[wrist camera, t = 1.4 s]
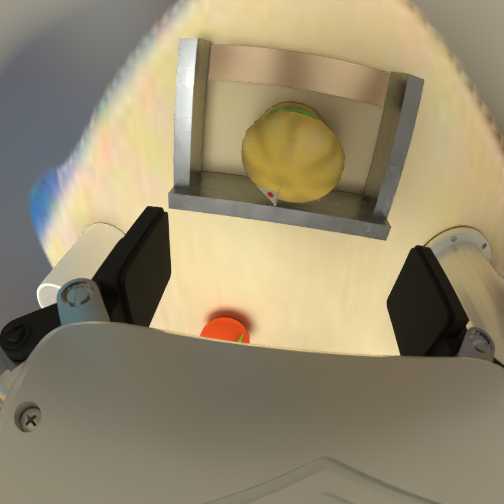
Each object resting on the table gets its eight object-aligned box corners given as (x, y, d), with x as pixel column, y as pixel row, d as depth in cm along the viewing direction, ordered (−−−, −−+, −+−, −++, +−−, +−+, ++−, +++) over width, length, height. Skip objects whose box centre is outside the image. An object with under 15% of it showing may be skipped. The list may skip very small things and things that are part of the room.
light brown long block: (376, 71, 23) (392, 74, 19) (370, 100, 25) (386, 107, 21) (223, 47, 24) (211, 44, 20) (220, 76, 25) (208, 79, 21)
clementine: (226, 295, 41) (216, 336, 35) (266, 319, 43) (262, 360, 37) (196, 323, 45) (185, 361, 39) (234, 344, 47) (227, 382, 41)
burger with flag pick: (344, 128, 27) (378, 169, 17) (302, 183, 31) (309, 250, 21) (276, 83, 25) (270, 95, 15) (237, 144, 29) (210, 193, 19)
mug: (166, 254, 38) (129, 324, 28) (147, 294, 42) (115, 360, 33) (88, 211, 35) (34, 268, 25) (79, 256, 40) (35, 313, 30)
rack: (405, 76, 23) (431, 81, 18) (371, 210, 31) (385, 240, 26) (194, 41, 23) (173, 37, 18) (187, 182, 32) (168, 208, 27)
